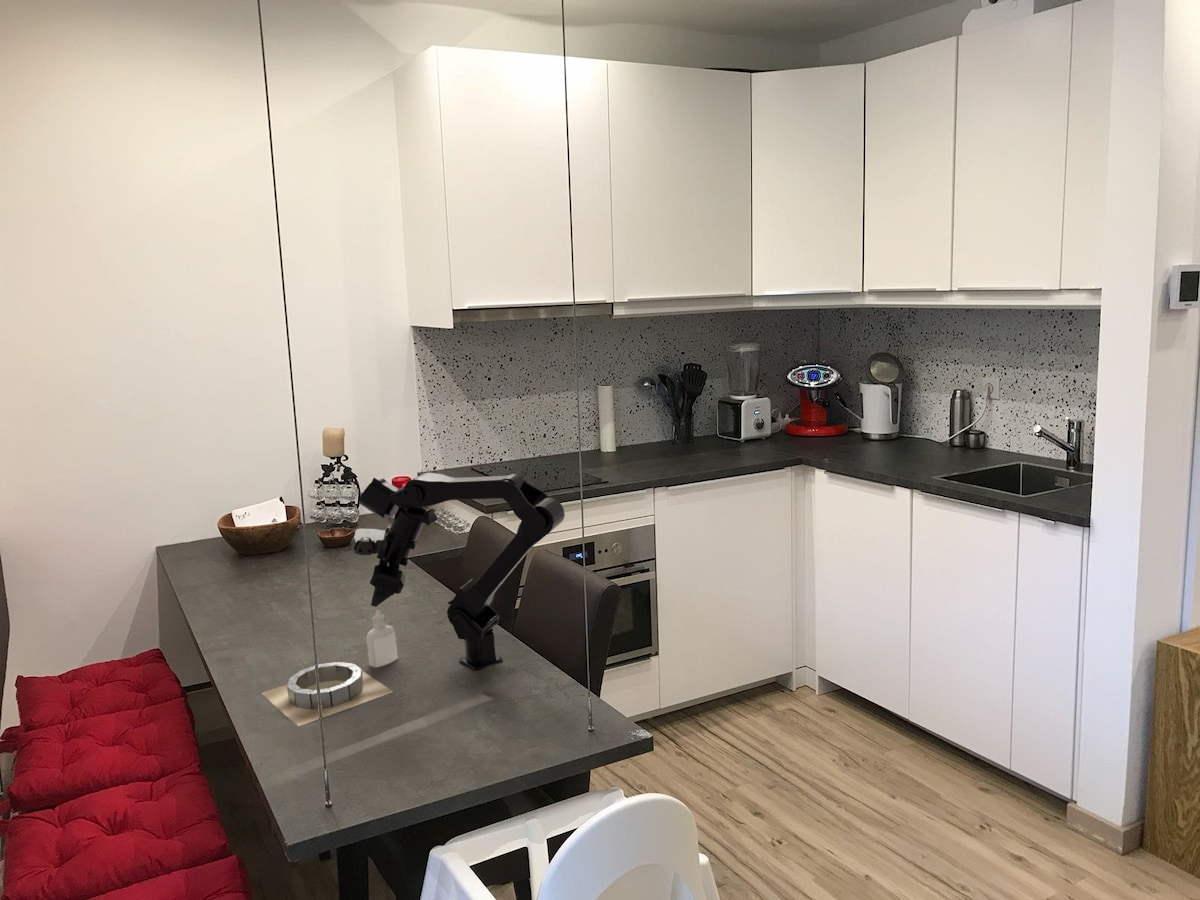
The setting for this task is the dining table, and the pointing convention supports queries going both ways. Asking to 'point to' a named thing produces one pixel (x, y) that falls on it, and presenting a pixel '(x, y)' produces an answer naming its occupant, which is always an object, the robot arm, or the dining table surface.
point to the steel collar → (330, 695)
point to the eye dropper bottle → (381, 642)
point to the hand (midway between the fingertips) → (375, 592)
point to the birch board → (304, 716)
